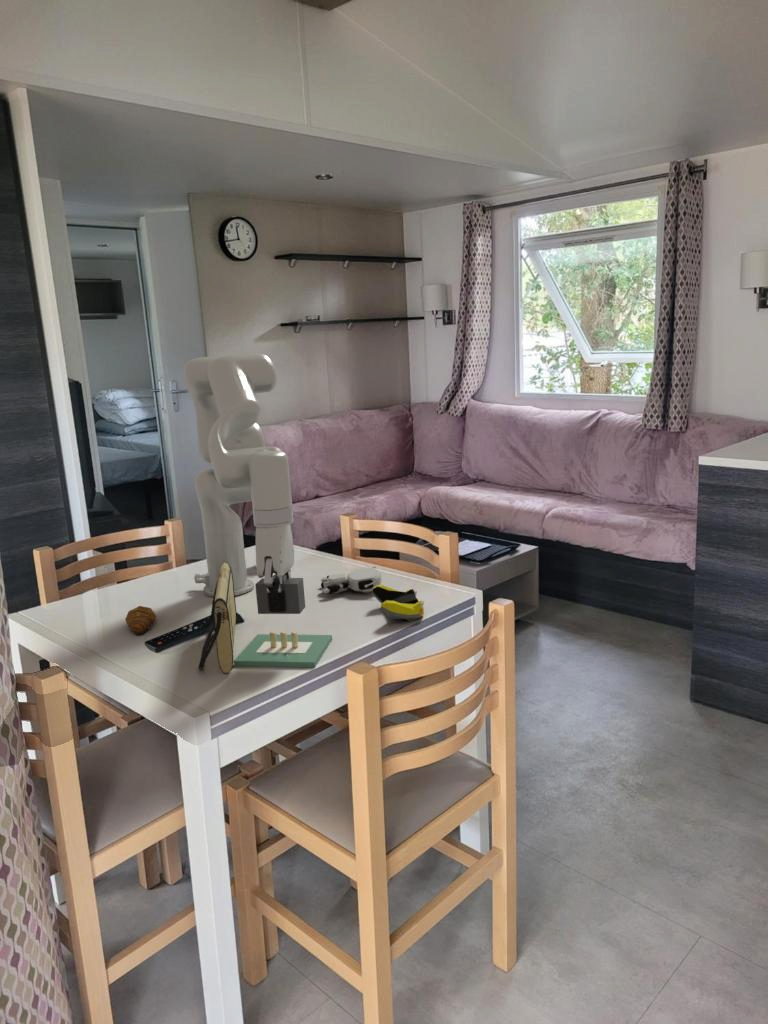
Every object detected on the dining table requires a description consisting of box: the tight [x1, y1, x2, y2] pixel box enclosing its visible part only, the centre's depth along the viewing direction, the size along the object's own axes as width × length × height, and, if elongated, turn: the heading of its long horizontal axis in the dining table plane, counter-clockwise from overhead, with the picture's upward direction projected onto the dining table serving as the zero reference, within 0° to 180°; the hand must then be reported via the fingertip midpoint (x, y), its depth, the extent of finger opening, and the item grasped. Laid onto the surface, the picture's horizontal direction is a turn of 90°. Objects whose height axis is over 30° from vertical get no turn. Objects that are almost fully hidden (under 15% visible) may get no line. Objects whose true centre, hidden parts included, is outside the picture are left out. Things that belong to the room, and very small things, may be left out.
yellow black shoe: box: [371, 584, 425, 621], centre depth 170 cm, size 15×6×10 cm
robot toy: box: [320, 565, 382, 595], centre depth 190 cm, size 12×4×15 cm
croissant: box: [124, 605, 157, 636], centre depth 172 cm, size 14×7×5 cm, turn 11°
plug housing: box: [254, 574, 306, 615], centre depth 150 cm, size 8×4×7 cm, turn 80°
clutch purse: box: [197, 562, 238, 674], centre depth 154 cm, size 30×7×15 cm, turn 9°
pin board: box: [233, 631, 333, 668], centre depth 152 cm, size 16×14×4 cm
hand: (281, 606), depth 150 cm, fingers closed on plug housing, 4 cm apart
